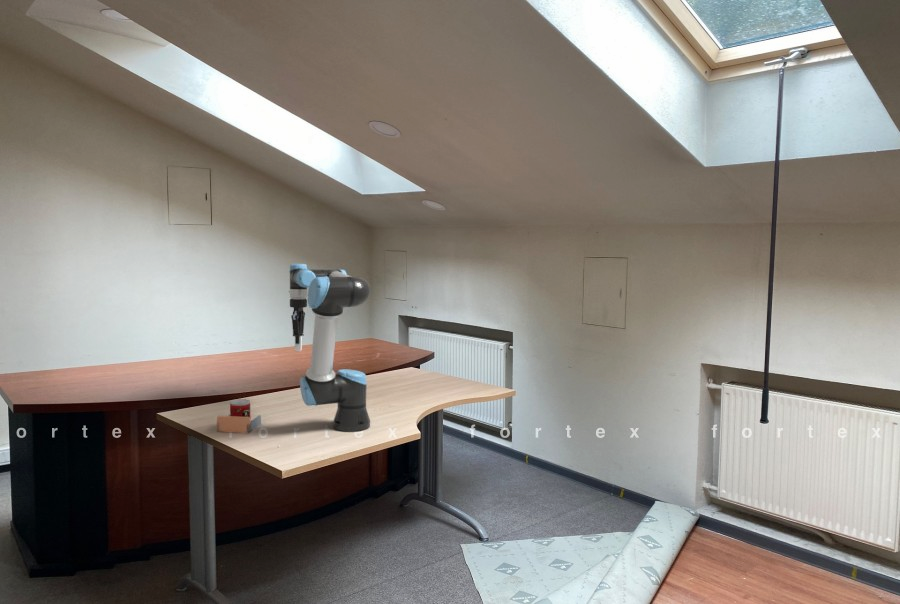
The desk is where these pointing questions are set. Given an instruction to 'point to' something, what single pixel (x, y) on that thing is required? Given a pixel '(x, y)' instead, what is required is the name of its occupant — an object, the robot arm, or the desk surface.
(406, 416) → the desk surface
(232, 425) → the bracket
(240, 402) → the canned food
